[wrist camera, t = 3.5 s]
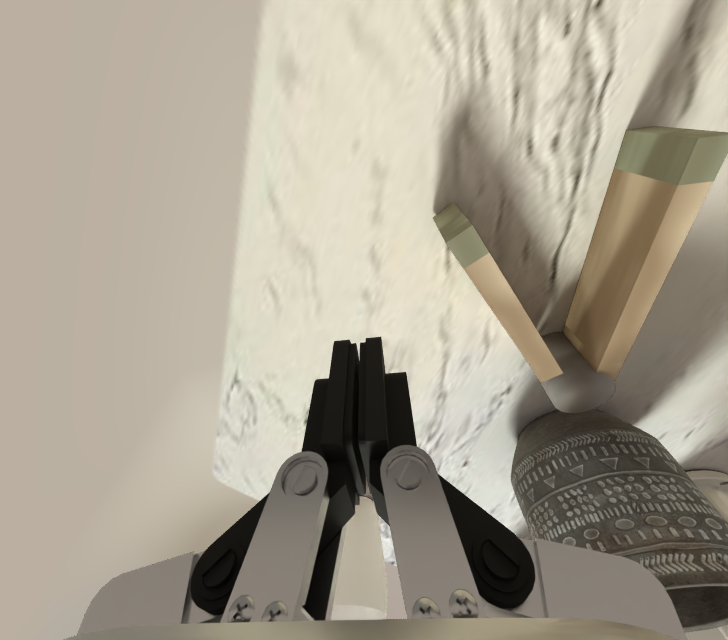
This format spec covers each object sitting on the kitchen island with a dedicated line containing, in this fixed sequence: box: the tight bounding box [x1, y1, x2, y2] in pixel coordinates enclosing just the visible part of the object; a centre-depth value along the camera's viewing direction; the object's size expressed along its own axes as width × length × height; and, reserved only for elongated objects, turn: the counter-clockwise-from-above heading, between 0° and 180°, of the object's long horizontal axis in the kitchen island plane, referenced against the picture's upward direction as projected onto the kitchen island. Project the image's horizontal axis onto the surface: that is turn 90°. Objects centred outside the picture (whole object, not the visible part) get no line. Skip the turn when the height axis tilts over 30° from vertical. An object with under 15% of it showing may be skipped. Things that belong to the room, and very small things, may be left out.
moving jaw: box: [433, 203, 563, 382], centre depth 22 cm, size 2×14×4 cm, turn 39°
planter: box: [511, 409, 728, 633], centre depth 29 cm, size 14×14×15 cm
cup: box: [331, 496, 387, 620], centre depth 41 cm, size 9×9×12 cm
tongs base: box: [530, 126, 728, 413], centre depth 21 cm, size 4×19×5 cm, turn 7°
